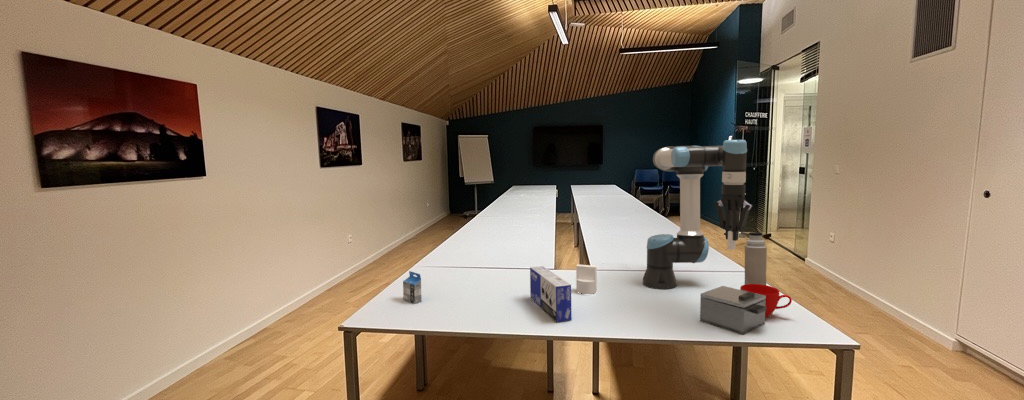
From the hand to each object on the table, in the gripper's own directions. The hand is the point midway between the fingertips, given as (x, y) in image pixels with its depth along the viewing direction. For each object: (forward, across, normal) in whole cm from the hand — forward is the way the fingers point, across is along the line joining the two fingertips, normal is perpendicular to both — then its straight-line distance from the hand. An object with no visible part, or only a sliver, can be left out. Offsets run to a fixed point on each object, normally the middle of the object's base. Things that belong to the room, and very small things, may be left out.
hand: (731, 248), depth 161 cm
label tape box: (+28, -97, -82) cm, 130 cm away
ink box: (+28, -52, -42) cm, 72 cm away
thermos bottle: (+27, -6, +32) cm, 42 cm away
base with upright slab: (+28, -58, -15) cm, 66 cm away
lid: (+18, +1, 0) cm, 18 cm away
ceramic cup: (+27, +5, +16) cm, 32 cm away
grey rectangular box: (+27, +2, 0) cm, 27 cm away
